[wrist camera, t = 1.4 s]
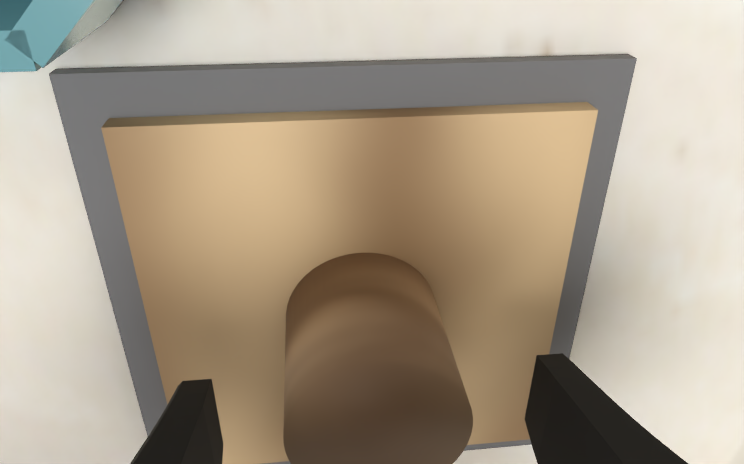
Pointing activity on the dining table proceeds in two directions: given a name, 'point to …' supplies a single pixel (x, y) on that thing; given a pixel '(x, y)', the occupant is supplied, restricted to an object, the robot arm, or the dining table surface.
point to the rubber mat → (324, 93)
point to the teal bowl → (46, 29)
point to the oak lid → (354, 269)
